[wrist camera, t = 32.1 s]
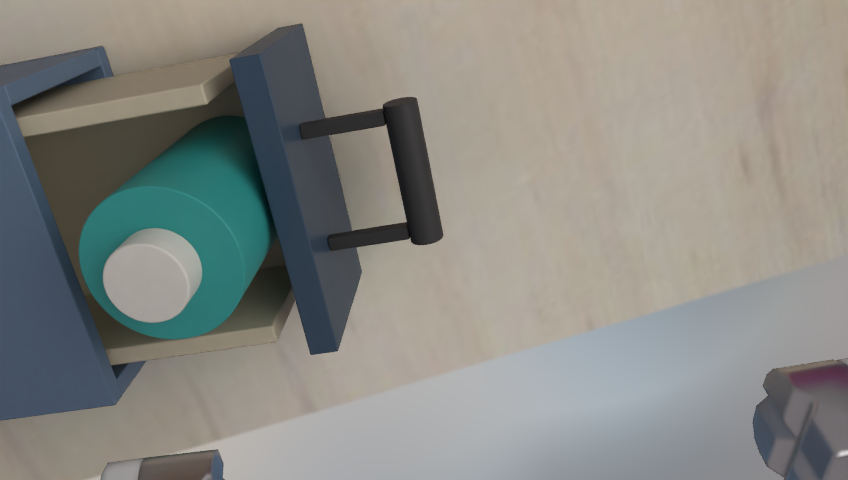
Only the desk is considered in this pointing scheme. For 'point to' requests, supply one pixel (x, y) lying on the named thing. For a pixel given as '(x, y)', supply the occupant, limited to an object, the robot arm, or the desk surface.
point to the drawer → (279, 167)
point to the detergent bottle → (181, 235)
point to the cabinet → (45, 269)
